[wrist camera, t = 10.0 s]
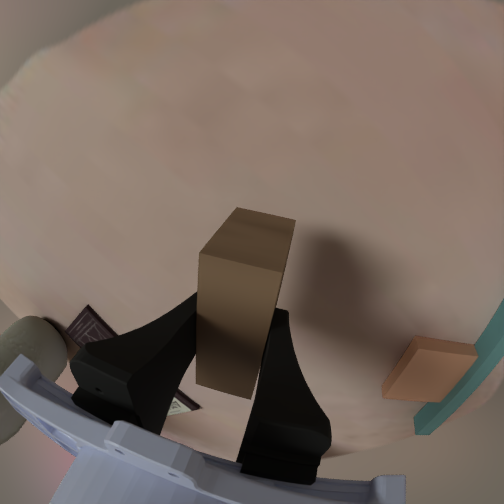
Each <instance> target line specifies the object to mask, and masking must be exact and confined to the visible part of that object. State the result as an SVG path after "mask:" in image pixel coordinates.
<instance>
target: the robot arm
mask: <svg viewBox="0 0 504 504" xmlns="http://www.w3.org/2000/svg"><path fill="white" fill-rule="evenodd" d="M196 320H197V292H196V293H194V294H193V295H192V296H190V297H189V298H188V299H186V300H185V301H184V302H182V303H181V304H180V305H178V306H177V307H175V308H174V309H172V310H171V311H169V312H168V313H166V314H164V315H163V316H161V317H160V318H158V319H156V320H154V321H152V322H151V323H149V324H147V325H145V326H143V327H140V328H138V329H135V330H133V331H130V332H128V333H125V334H122V335H119V336H116V337H112V338H108V339H104V340H99V341H94V342H88V343H85V344H84V345H83V347H82V348H81V349H80V350H79V351H78V352H77V354H76V355H75V356H74V357H73V359H72V360H71V361H70V369H71V372H72V374H73V376H74V378H75V379H76V381H77V384H78V385H79V387H78V388H77V390H76V391H75V392H74V394H72V393H70V392H68V391H67V390H65V389H63V388H62V387H60V386H58V385H57V384H56V383H54V382H53V381H51V380H49V379H48V378H47V377H45V376H44V375H42V374H41V371H40V369H39V368H38V366H37V365H36V364H35V363H34V362H33V361H31V360H30V359H29V358H27V357H26V356H24V355H23V354H20V355H19V356H18V357H17V358H16V359H15V360H14V362H13V363H12V364H11V365H10V366H9V367H8V368H7V370H6V371H5V372H4V373H3V374H2V375H1V376H0V391H1V393H2V394H3V395H4V396H5V398H6V399H7V400H8V401H9V403H10V404H11V405H12V406H13V408H14V409H15V410H16V411H17V412H18V413H20V414H21V415H22V416H23V417H24V418H25V419H27V420H28V421H29V422H30V423H31V424H33V425H34V426H35V427H36V428H38V429H39V430H40V431H41V432H43V433H44V434H45V435H46V436H48V437H49V438H50V439H52V440H53V441H54V442H56V443H57V444H58V445H60V446H61V447H62V448H64V449H65V450H66V451H68V452H69V453H71V454H72V455H74V456H75V457H76V459H75V460H74V462H73V463H72V465H71V467H70V468H69V470H68V472H67V474H66V475H65V477H64V479H63V480H62V482H61V484H60V485H59V487H58V489H57V491H56V492H55V494H54V496H53V498H52V499H51V501H50V503H49V504H406V476H405V475H381V476H377V477H375V478H374V479H372V480H371V481H353V480H339V479H327V478H317V477H316V475H317V468H318V466H319V465H320V460H321V456H322V455H323V454H324V453H325V452H326V451H327V450H328V449H329V448H330V446H331V441H332V435H331V426H330V421H329V419H328V417H327V416H326V415H325V413H324V412H323V410H322V409H321V408H320V406H319V404H318V403H317V401H316V400H315V398H314V396H313V394H312V393H311V391H310V389H309V387H308V385H307V383H306V381H305V379H304V377H303V374H302V372H301V369H300V367H299V364H298V361H297V358H296V355H295V351H294V347H293V343H292V338H291V333H290V327H289V312H288V311H287V310H283V309H279V308H275V310H274V314H273V317H272V321H271V325H270V329H269V333H268V337H267V341H266V345H265V349H264V353H263V357H262V361H261V367H260V373H259V379H258V384H257V390H256V395H255V400H254V403H253V407H252V410H251V414H250V417H249V420H248V424H247V427H246V431H245V434H244V437H243V441H242V444H241V447H240V450H239V454H238V457H237V460H236V462H233V461H229V460H225V459H222V458H218V457H215V456H212V455H208V454H205V453H202V452H199V451H196V450H194V449H192V448H190V447H188V446H185V445H183V444H181V443H178V442H175V441H172V440H170V439H167V438H165V437H162V436H160V434H161V431H162V428H163V425H164V422H165V419H166V417H167V414H168V411H169V409H170V406H171V404H172V401H173V399H174V396H175V394H176V391H177V389H178V387H179V384H180V382H181V380H182V378H183V376H184V374H185V372H186V370H187V368H188V367H189V365H190V363H191V361H192V360H193V358H194V356H195V354H196Z"/></svg>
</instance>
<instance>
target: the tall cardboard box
mask: <svg viewBox="0 0 504 504" xmlns="http://www.w3.org/2000/svg"><path fill="white" fill-rule="evenodd" d="M295 222H296V220H293V219H289V218H284V217H280V216H275V215H271V214H266V213H261V212H257V211H252V210H247V209H242V208H238V207H237V208H236V209H235V210H234V211H233V212H232V214H231V215H230V216H229V217H228V218H227V220H226V221H225V222H224V223H223V224H222V226H221V227H220V228H219V229H218V230H217V232H216V233H215V234H214V235H213V237H212V238H211V239H210V240H209V241H208V243H207V244H206V245H205V246H204V248H203V249H202V250H201V251H200V253H199V267H198V289H197V320H196V384H198V385H201V386H204V387H208V388H211V389H214V390H218V391H221V392H224V393H228V394H231V395H235V396H239V397H242V398H246V399H250V400H251V397H252V394H253V391H254V387H255V384H256V380H257V377H258V373H259V370H260V366H261V361H262V357H263V353H264V349H265V345H266V341H267V337H268V333H269V329H270V325H271V321H272V317H273V314H274V310H275V308H276V305H277V301H278V297H279V292H280V288H281V284H282V280H283V275H284V271H285V267H286V262H287V258H288V254H289V249H290V245H291V240H292V236H293V231H294V227H295Z"/></svg>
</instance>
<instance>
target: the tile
mask: <svg viewBox="0 0 504 504" xmlns="http://www.w3.org/2000/svg"><path fill="white" fill-rule="evenodd" d="M478 357H479V356H478V354H477V351H476V349H475V346H474V345H472V344H465V343H458V342H452V341H445V340H439V339H432V338H426V337H420V336H415V337H414V338H413V340H412V342H411V343H410V345H409V346H408V348H407V350H406V351H405V353H404V354H403V356H402V357H401V359H400V360H399V362H398V363H397V365H396V366H395V368H394V369H393V371H392V372H391V374H390V375H389V376H388V378H387V379H386V381H385V382H384V383H383V385H382V395H383V398H386V399H396V400H407V401H420V402H438V403H440V402H441V401H442V400H443V399H444V398H445V397H446V395H447V394H448V393H449V392H450V391H451V390H452V389H453V388H454V386H455V385H456V384H457V383H458V382H459V381H460V379H461V378H462V377H463V376H464V375H465V373H466V372H467V371H468V370H469V368H470V367H471V366H472V365H473V363H474V362H475V361H476V359H477V358H478Z"/></svg>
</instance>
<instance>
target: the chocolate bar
mask: <svg viewBox="0 0 504 504" xmlns="http://www.w3.org/2000/svg"><path fill="white" fill-rule="evenodd" d="M65 332H66V333H67V334H68V335H69V336H70V337H71V338H72V340H73V341H74V342H75V343H76V344H77V345H78V346H79V347H80V348H82V347H83V345H84V344H85V343H88V342H94V341H99V340H104V339H108V338H112V337H116V336H118V335H117V334H116V333H115V332H114V331H113V330H112V329H111V328H110V327H109V326H108V325H107V324H106V323H105V322H104V321H103V320H102V319H101V318H100V316H99V315H98V314H97V313H96V312H95V311H94V310H93V309H92V308H91V307H90V306H89V305H87V306H86V307H85V308H84V309H83V310H82V312H81V313H80V314H79V315H78V316H77V318H76V319H75V320H74V321H73V322H72V324H71V325H70V326H69V327H68V328H67V330H66V331H65ZM199 407H200V406H199V405H198V404H197V403H195V402H194V401H193V400H192V399H190V398H189V397H188V396H186V395H185V394H184V393H183V392H181V391H180V390H179V389H177V391H176V394H175V396H174V399H173V401H172V404H171V406H170V409H169V411H168V414H167V416H168V415H174V414H179V413H184V412H188V411H193V410H198V409H199Z"/></svg>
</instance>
